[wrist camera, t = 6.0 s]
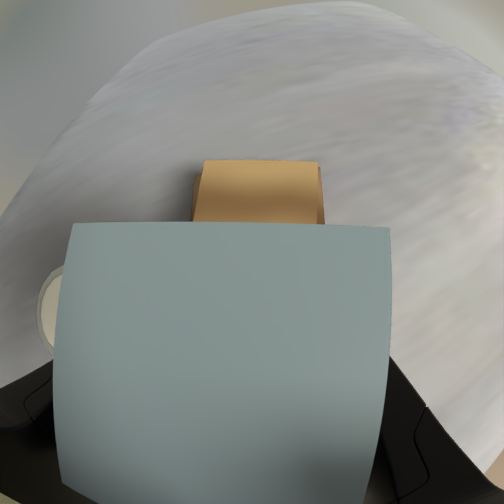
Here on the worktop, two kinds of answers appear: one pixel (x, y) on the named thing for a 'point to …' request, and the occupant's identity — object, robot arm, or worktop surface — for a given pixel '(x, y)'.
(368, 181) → the worktop surface
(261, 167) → the tower top
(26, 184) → the worktop surface
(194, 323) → the tall block
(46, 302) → the shot glass
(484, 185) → the worktop surface
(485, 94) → the worktop surface
